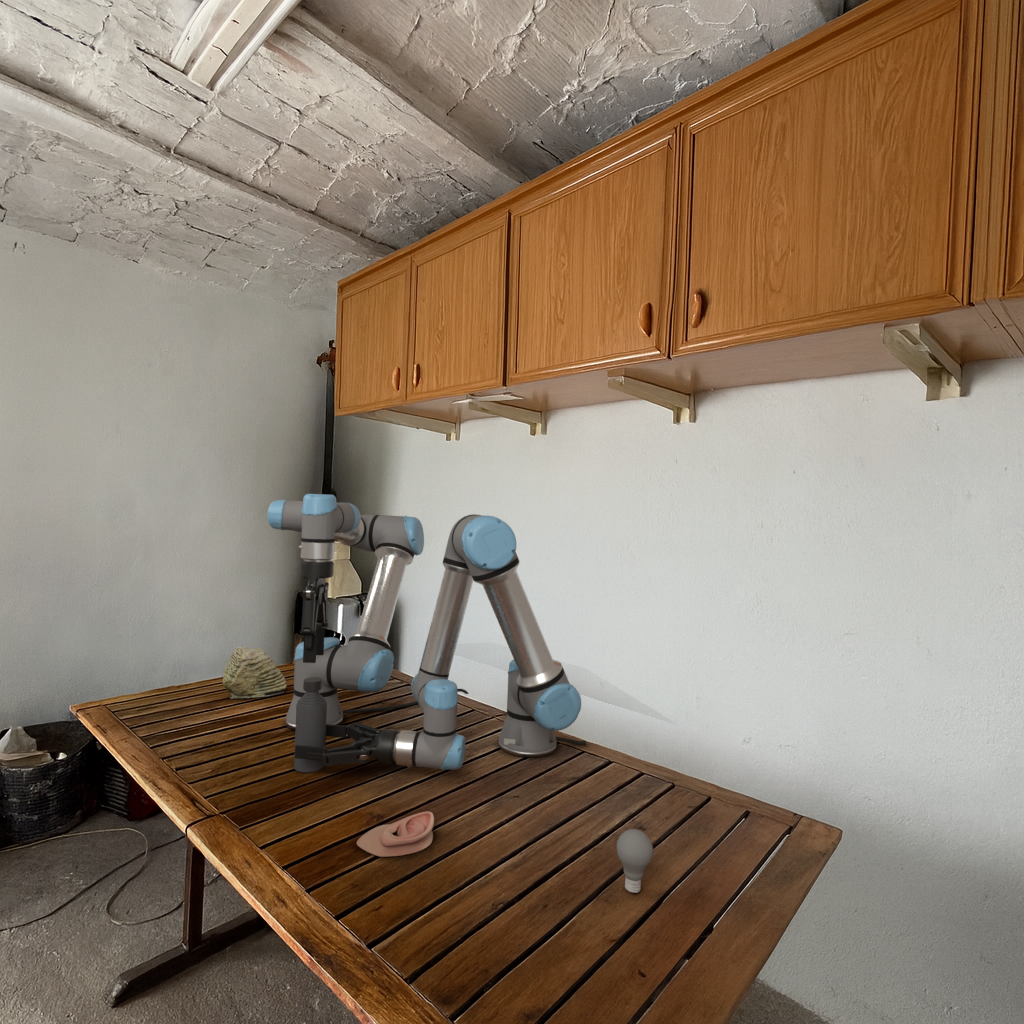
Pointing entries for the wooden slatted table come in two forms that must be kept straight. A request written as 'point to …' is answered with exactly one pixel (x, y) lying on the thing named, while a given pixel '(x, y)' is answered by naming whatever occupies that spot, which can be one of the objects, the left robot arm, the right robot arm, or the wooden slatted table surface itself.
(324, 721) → the bottle
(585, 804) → the wooden slatted table surface
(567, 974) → the wooden slatted table surface
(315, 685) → the cap
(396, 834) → the anatomical model
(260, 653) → the fossil
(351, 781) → the wooden slatted table surface
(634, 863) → the light bulb
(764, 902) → the wooden slatted table surface
